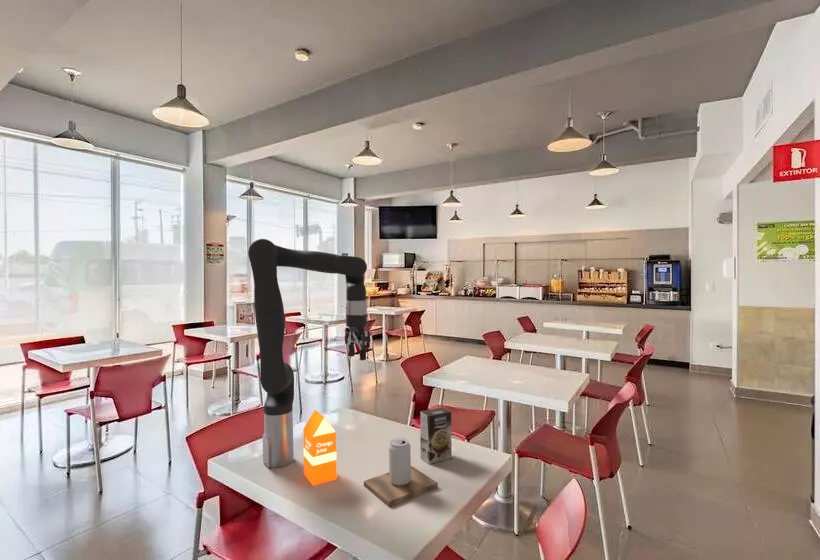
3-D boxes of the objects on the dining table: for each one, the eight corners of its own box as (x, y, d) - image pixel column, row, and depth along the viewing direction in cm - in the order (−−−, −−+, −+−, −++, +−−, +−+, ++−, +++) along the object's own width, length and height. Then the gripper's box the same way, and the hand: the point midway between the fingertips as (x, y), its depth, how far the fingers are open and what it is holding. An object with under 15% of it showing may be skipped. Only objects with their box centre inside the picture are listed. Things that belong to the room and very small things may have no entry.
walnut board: (389, 507, 112) (389, 501, 112) (363, 486, 124) (363, 481, 124) (437, 487, 122) (437, 482, 122) (410, 469, 133) (410, 465, 133)
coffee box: (429, 464, 137) (428, 416, 136) (419, 457, 142) (419, 410, 142) (452, 458, 141) (452, 411, 141) (442, 451, 147) (441, 406, 146)
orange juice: (312, 485, 124) (311, 419, 124) (303, 474, 132) (302, 411, 131) (337, 478, 128) (336, 414, 128) (327, 467, 136) (326, 406, 136)
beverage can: (408, 488, 119) (407, 446, 119) (386, 486, 120) (386, 445, 120) (412, 477, 125) (412, 437, 125) (392, 475, 127) (391, 436, 126)
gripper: (338, 312, 152) (338, 356, 152) (356, 315, 140) (357, 362, 141) (356, 311, 156) (357, 354, 157) (375, 313, 145) (376, 360, 145)
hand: (357, 358), depth 149 cm, fingers open, 8 cm apart
